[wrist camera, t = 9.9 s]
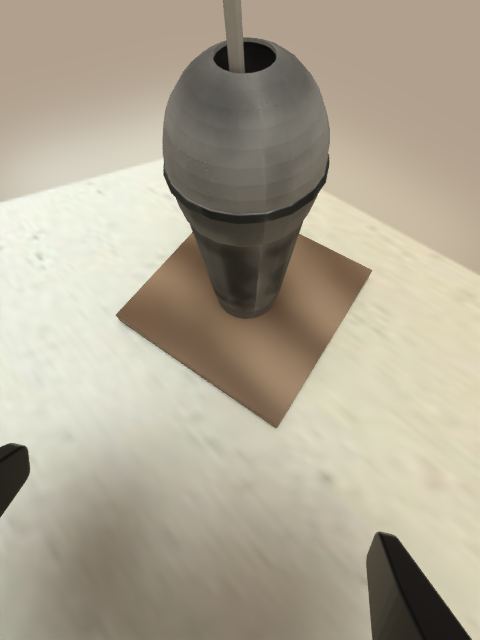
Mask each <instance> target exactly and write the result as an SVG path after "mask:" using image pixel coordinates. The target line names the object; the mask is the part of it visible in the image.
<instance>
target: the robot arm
mask: <svg viewBox="0 0 480 640" xmlns="http://www.w3.org/2000/svg"><path fill="white" fill-rule="evenodd" d="M29 473H30V463H29V454H28V449H27V447H26V446H24V445H19V444H15V443H9V444H6V445H4V446H2V447H0V517H1V516H2V514H3V513H4V511H5V510H6V509H7V507H8V506H9V504H10V503H11V502H12V500H13V499H14V497H15V496H16V494H17V493H18V492H19V490H20V489H21V487H22V486H23V484H24V483H25V482H26V480H27V478H28V476H29ZM366 567H367V580H368V592H369V604H370V616H371V628H372V639H373V640H472V639H471V638H470V636H469V635H468V634H467V632H466V631H465V629H464V628H463V627H462V625H461V624H460V623H459V621H458V620H457V619H456V617H455V616H454V614H453V613H452V612H451V610H450V609H449V608H448V606H447V605H446V603H445V602H444V601H443V599H442V598H441V597H440V595H439V594H438V593H437V591H436V590H435V588H434V587H433V586H432V584H431V583H430V582H429V580H428V579H427V577H426V576H425V575H424V573H423V572H422V571H421V569H420V568H419V567H418V565H417V564H416V562H415V561H414V560H413V558H412V557H411V556H410V554H409V553H408V551H407V550H406V549H405V547H404V546H403V545H402V543H401V542H400V541H399V539H398V538H397V537H396V536H394V535H392V534H388V533H384V532H377V533H376V534H375V536H374V538H373V541H372V543H371V546H370V549H369V551H368V554H367V560H366Z"/></svg>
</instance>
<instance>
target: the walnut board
mask: <svg viewBox="0 0 480 640" xmlns="http://www.w3.org/2000/svg"><path fill="white" fill-rule="evenodd" d="M371 272H372V270H371V269H369V268H367V267H365V266H363V265H361V264H359V263H357V262H355V261H353V260H351V259H349V258H347V257H345V256H343V255H341V254H339V253H337V252H335V251H333V250H331V249H329V248H327V247H325V246H323V245H321V244H319V243H317V242H314V241H312V240H310V239H308V238H306V237H304V236H302V235H300V234H299V235H298V238H297V241H296V244H295V247H294V250H293V253H292V255H291V258H290V261H289V264H288V267H287V270H286V273H285V276H284V279H283V282H282V285H281V288H280V291H279V293H278V295H277V297H276V299H275V302H274V304H273V305H272V307H271V308H270V310H268V311H267V312H266V313H265V314H263V315H261V316H258V317H256V318H250V319H242V318H238V317H234V316H232V315H231V314H229V313H227V312H226V311H225V310H224V309H223V308H222V307H221V305H220V303H219V301H218V298H217V297H216V294H215V292H214V290H213V287H212V284H211V281H210V279H209V276H208V273H207V270H206V268H205V265H204V262H203V259H202V256H201V254H200V251H199V248H198V245H197V242H196V240H195V237H194V234H193V232H192V234H191V235H190V236H189V237H188V238H187V239H186V240H185V241H184V242H183V243H182V244H181V245H180V246H179V248H178V249H177V250H176V251H175V252H174V253H173V254H172V255H171V256H170V257H169V258H168V259H167V260H166V262H165V263H164V264H163V265H162V266H161V267H160V268H159V269H158V270H157V271H156V272H155V273H154V274H153V276H152V277H151V278H150V279H149V280H148V281H147V282H146V283H145V284H144V285H143V286H142V287H141V288H140V289H139V291H138V292H137V293H136V294H135V295H134V296H133V297H132V298H131V299H130V300H129V301H128V302H127V303H126V305H125V306H124V307H123V308H122V309H121V310H120V311H119V312H118V313H117V314H116V316H117V317H118V319H119V320H120V321H121V322H123V323H124V324H126V325H127V326H129V327H130V328H131V329H133V330H134V331H136V332H137V333H139V334H140V335H142V336H143V337H145V338H146V339H147V340H149V341H150V342H152V343H153V344H155V345H156V346H158V347H159V348H161V349H162V350H163V351H165V352H166V353H168V354H169V355H171V356H172V357H174V358H175V359H177V360H178V361H179V362H181V363H182V364H184V365H185V366H187V367H188V368H190V369H191V370H192V371H194V372H195V373H197V374H198V375H200V376H201V377H203V378H204V379H206V380H207V381H208V382H210V383H211V384H213V385H214V386H216V387H217V388H219V389H220V390H222V391H223V392H224V393H226V394H227V395H229V396H230V397H232V398H233V399H235V400H236V401H238V402H239V403H240V404H242V405H243V406H245V407H246V408H248V409H249V410H251V411H252V412H254V413H255V414H256V415H258V416H259V417H261V418H262V419H264V420H265V421H267V422H268V423H270V424H271V425H272V426H274V427H275V428H277V427H278V425H279V423H280V422H281V420H282V418H283V417H284V415H285V414H286V412H287V410H288V409H289V407H290V405H291V404H292V402H293V400H294V399H295V397H296V395H297V394H298V392H299V391H300V389H301V387H302V386H303V384H304V382H305V381H306V379H307V377H308V376H309V374H310V372H311V371H312V369H313V367H314V366H315V364H316V363H317V361H318V359H319V358H320V356H321V354H322V353H323V351H324V349H325V348H326V346H327V344H328V343H329V341H330V339H331V338H332V336H333V335H334V333H335V331H336V330H337V328H338V326H339V325H340V323H341V321H342V320H343V318H344V316H345V315H346V313H347V312H348V310H349V308H350V307H351V305H352V303H353V302H354V300H355V298H356V297H357V295H358V293H359V292H360V290H361V288H362V287H363V285H364V284H365V282H366V280H367V279H368V277H369V275H370V274H371Z"/></svg>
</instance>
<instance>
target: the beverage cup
mask: <svg viewBox="0 0 480 640" xmlns="http://www.w3.org/2000/svg"><path fill="white" fill-rule="evenodd" d="M223 7H224V17H225V28H226V39H227V41H223V42H220V43H218V44H216V45H214V46H211V47H210V48H208V49H207V50H205V51H204V52H203V53H201V54H200V55H199V56H198V57H197V58H195V59H194V60H193V61H192V62H191V63H190V64H189V66H188V67H187V68H186V69H185V70H184V71H183V73H182V75H181V77H180V79H179V80H178V82H177V84H176V86H175V87H174V89H173V91H172V93H171V95H170V97H169V100H168V103H167V106H166V110H165V117H164V125H163V157H164V177H165V179H166V182H167V184H168V187H169V189H170V191H171V193H172V194H173V195H174V196H175V197H176V200H177V202H178V204H179V206H180V208H181V210H182V212H183V214H184V216H185V217H186V219H187V221H188V222H189V223H190V226H191V228H192V231H193V234H194V237H195V240H196V242H197V245H198V248H199V251H200V254H201V256H202V259H203V262H204V265H205V268H206V270H207V273H208V276H209V279H210V281H211V284H212V287H213V290H214V292H215V294H216V297H217V298H218V301H219V303H220V305H221V307H222V308H223V309H224V310H225V311H226V312H227V313H229V314H231V315H232V316H234V317H238V318H242V319H250V318H256V317H258V316H261V315H263V314H265V313H266V312H267V311H268V310H270V308H271V307H272V305H273V304H274V302H275V299H276V297H277V295H278V293H279V291H280V288H281V285H282V282H283V279H284V276H285V273H286V270H287V267H288V264H289V261H290V258H291V255H292V253H293V250H294V247H295V244H296V241H297V238H298V235H299V232H300V229H301V226H302V223H303V220H304V219H305V217H306V216H307V214H308V213H309V211H310V209H311V207H312V205H313V203H314V201H315V199H316V197H317V195H318V193H319V191H320V190H321V188H322V187H323V186H324V184H325V183H326V178H327V173H328V168H329V154H328V149H329V144H330V128H329V122H328V116H327V112H326V109H325V105H324V102H323V98H322V95H321V93H320V90H319V87H318V85H317V83H316V82H315V80H314V78H313V77H312V75H311V74H310V72H309V71H308V70H307V69H306V68H305V67H304V65H303V64H302V63H301V62H300V61H299V60H298V59H297V58H296V57H295V56H294V55H293V54H292V53H290V52H288V51H287V50H285V49H284V48H282V47H281V46H279V45H277V44H275V43H273V42H270V41H266V40H263V39H257V38H243V32H242V14H241V0H223Z"/></svg>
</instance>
